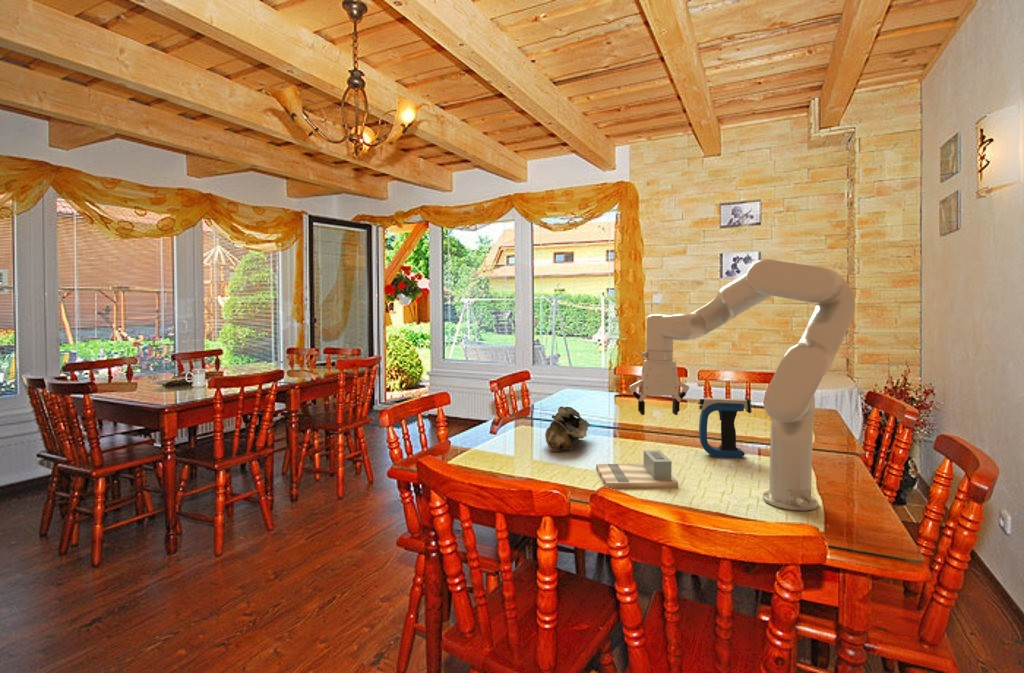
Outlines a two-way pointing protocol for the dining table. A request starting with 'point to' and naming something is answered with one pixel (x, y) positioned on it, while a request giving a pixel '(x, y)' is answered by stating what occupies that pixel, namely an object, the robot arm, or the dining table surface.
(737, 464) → the dining table surface
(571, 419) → the hollow geode rock
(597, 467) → the subfloor panel
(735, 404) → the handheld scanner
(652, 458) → the block
